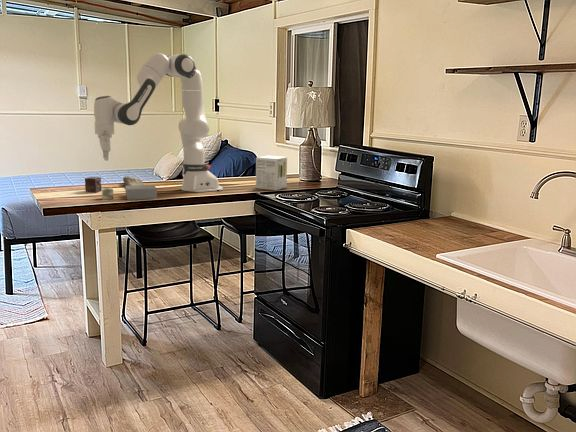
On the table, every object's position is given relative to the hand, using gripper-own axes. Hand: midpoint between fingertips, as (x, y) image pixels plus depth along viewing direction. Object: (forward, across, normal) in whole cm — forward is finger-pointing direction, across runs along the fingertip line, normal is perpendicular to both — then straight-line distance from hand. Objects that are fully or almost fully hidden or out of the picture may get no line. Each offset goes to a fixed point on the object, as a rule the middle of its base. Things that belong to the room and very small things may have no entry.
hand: (105, 159), depth 272 cm
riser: (+19, 0, -16) cm, 25 cm away
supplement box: (+19, +12, -89) cm, 92 cm away
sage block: (+19, 0, 0) cm, 19 cm away
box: (+20, +22, +6) cm, 30 cm away
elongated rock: (+20, +32, -16) cm, 41 cm away
